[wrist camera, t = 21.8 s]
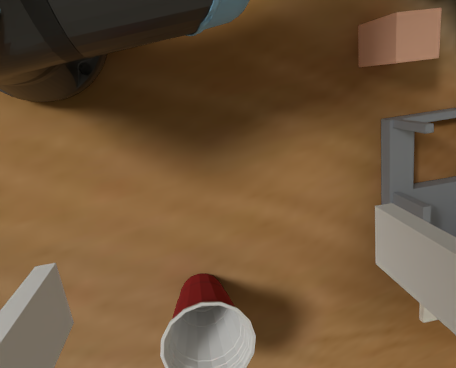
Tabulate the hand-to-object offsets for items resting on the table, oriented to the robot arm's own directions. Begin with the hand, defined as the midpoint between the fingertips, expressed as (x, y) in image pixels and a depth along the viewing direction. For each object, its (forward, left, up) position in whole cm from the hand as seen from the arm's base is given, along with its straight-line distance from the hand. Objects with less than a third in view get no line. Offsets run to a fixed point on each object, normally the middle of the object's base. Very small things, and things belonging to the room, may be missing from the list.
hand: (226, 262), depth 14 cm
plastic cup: (+21, -2, -32) cm, 38 cm away
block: (-9, +25, -32) cm, 41 cm away
